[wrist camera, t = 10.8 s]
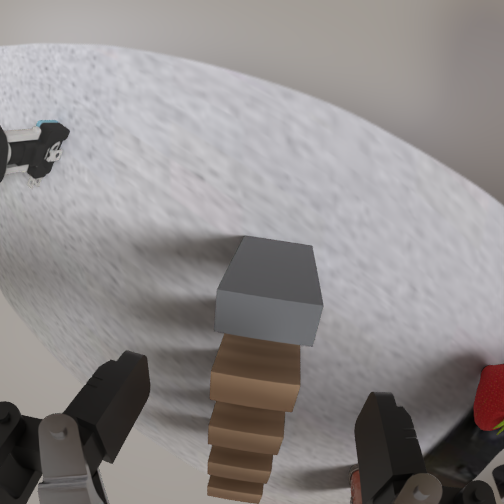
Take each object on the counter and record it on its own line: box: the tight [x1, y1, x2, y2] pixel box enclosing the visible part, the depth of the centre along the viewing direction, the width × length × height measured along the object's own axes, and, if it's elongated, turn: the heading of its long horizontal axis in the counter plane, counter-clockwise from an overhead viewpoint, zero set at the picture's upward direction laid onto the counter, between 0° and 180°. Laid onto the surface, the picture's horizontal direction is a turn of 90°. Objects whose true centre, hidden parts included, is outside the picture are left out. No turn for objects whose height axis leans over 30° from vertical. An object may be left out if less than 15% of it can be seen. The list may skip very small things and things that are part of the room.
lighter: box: [349, 464, 362, 504], centre depth 27 cm, size 8×3×10 cm, turn 15°
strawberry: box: [473, 364, 504, 435], centre depth 20 cm, size 6×8×10 cm
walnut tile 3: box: [208, 401, 285, 455], centre depth 22 cm, size 2×5×9 cm, turn 84°
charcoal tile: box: [214, 236, 323, 347], centre depth 19 cm, size 2×5×9 cm, turn 83°
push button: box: [0, 120, 70, 189], centre depth 18 cm, size 7×5×10 cm
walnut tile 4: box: [210, 333, 300, 412], centre depth 20 cm, size 2×5×9 cm, turn 84°
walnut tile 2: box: [208, 445, 273, 484], centre depth 24 cm, size 2×5×9 cm, turn 84°
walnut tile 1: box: [207, 475, 264, 504], centre depth 26 cm, size 2×5×9 cm, turn 84°
